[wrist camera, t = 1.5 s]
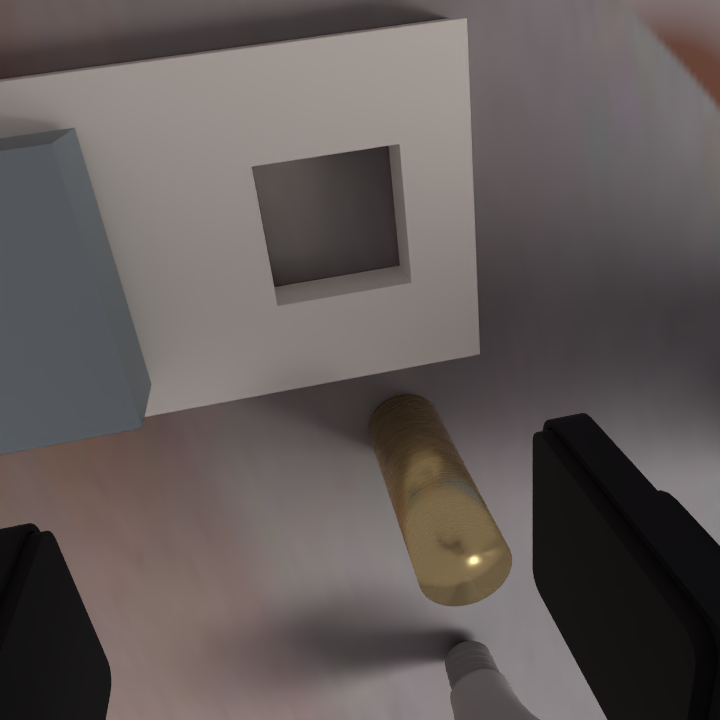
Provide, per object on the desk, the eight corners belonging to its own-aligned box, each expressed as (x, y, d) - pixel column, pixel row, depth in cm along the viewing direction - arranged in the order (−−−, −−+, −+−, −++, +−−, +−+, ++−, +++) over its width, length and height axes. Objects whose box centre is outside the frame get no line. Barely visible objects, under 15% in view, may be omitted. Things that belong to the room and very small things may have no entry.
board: (448, 18, 23) (467, 18, 21) (464, 333, 29) (480, 355, 27) (-308, 121, 21) (-360, 131, 19) (-131, 443, 26) (-159, 474, 25)
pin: (436, 388, 30) (511, 522, 22) (440, 448, 31) (512, 594, 23) (364, 402, 29) (414, 543, 21) (372, 462, 31) (422, 614, 23)
